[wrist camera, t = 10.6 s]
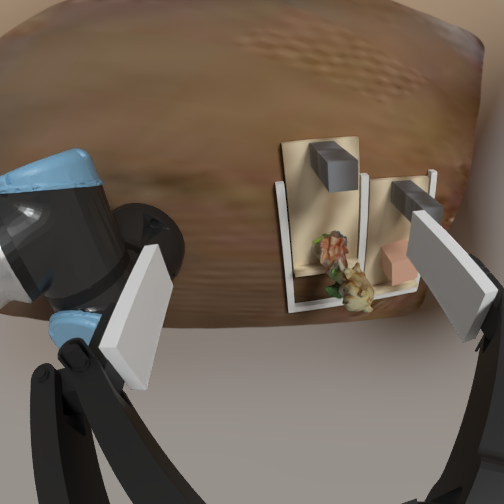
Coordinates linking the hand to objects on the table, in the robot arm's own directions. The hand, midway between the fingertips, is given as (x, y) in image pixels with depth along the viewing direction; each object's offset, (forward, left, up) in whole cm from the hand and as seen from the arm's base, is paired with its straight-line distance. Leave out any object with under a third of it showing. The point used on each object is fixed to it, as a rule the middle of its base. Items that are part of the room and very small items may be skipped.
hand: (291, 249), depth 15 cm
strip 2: (+21, -19, -29) cm, 40 cm away
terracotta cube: (+21, -22, -28) cm, 41 cm away
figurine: (+9, -20, -29) cm, 36 cm away
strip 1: (+8, -12, -29) cm, 32 cm away
